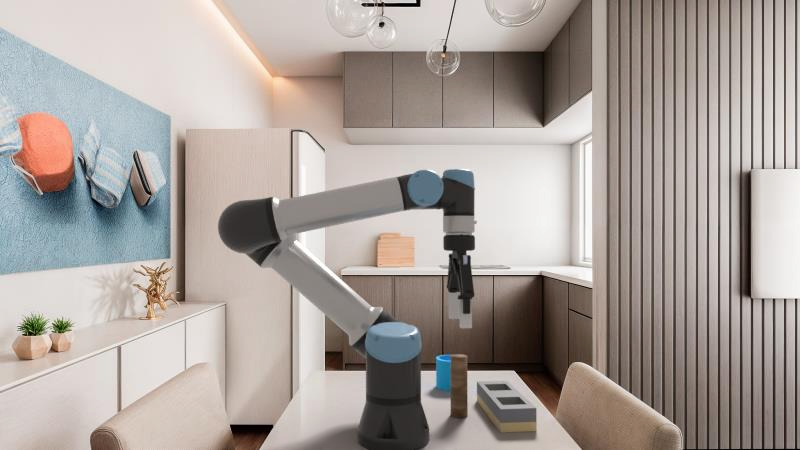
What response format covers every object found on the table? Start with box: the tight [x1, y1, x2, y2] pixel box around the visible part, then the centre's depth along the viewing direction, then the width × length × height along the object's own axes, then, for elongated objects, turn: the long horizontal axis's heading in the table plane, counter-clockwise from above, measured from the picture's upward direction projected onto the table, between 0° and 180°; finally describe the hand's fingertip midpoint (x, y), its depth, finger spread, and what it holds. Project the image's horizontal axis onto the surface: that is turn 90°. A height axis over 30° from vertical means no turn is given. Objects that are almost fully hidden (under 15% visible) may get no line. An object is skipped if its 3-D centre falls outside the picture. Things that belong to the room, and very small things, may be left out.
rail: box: [476, 380, 538, 433], centre depth 126 cm, size 22×8×5 cm, turn 5°
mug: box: [435, 354, 452, 392], centre depth 152 cm, size 12×8×8 cm
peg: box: [450, 353, 469, 419], centre depth 126 cm, size 4×4×14 cm
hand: (459, 323), depth 127 cm, fingers open, 13 cm apart
